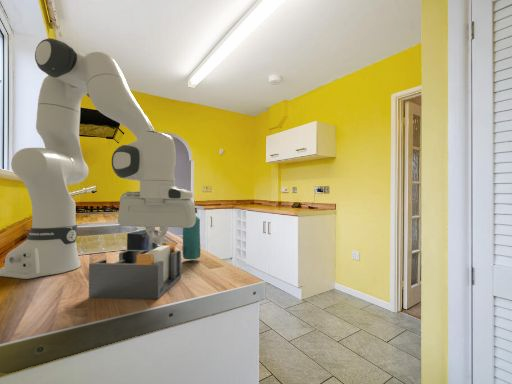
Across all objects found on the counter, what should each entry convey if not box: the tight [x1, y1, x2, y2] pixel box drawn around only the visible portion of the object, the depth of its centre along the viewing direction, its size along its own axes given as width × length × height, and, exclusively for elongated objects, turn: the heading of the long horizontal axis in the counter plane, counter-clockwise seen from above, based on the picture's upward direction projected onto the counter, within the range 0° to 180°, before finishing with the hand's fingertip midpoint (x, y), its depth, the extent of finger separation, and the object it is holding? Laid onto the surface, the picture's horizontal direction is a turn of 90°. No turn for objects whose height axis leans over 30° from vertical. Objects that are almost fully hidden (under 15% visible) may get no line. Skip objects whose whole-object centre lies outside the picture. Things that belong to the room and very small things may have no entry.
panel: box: [145, 244, 170, 282], centre depth 65 cm, size 2×10×9 cm, turn 177°
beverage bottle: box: [181, 207, 201, 260], centre depth 90 cm, size 6×7×20 cm
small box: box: [126, 229, 159, 250], centre depth 94 cm, size 11×6×10 cm, turn 168°
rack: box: [88, 241, 182, 300], centre depth 66 cm, size 17×15×10 cm
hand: (156, 243), depth 65 cm, fingers closed
